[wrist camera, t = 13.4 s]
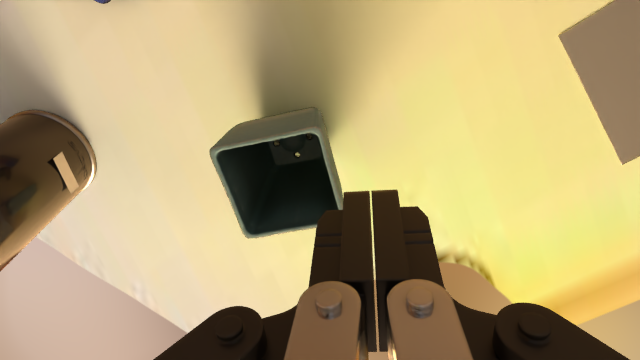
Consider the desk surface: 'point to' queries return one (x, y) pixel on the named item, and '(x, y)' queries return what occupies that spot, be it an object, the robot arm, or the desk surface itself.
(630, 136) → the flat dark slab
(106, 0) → the eraser
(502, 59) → the desk surface
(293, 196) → the flower pot
